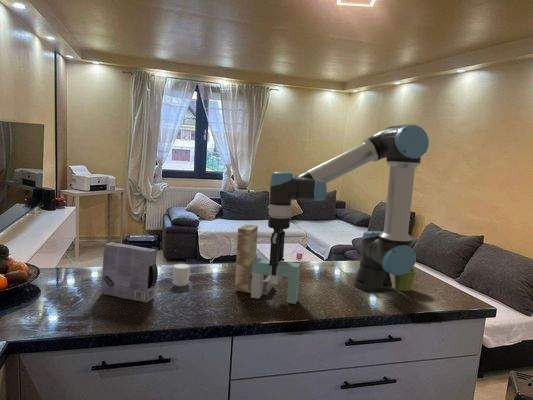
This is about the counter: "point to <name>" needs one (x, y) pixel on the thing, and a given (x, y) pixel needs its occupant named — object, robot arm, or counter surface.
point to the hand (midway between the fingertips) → (275, 281)
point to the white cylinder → (181, 274)
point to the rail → (285, 270)
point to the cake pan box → (129, 272)
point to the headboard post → (248, 260)
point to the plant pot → (405, 280)
